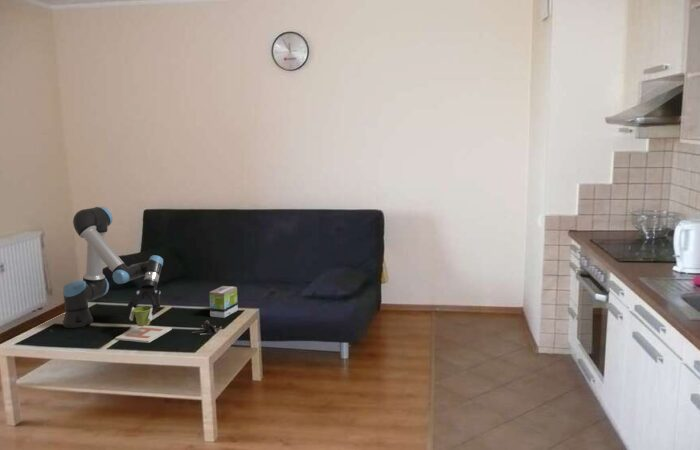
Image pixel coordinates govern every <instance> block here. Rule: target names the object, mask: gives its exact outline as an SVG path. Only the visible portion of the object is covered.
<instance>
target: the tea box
mask: <svg viewBox="0 0 700 450" xmlns="http://www.w3.org/2000/svg"><path fill="white" fill-rule="evenodd" d="M238 306H239V304H238V287H237V286H230V285H229V286H228V285H226V286H225V285H221V286H220V287H217V288H216V289H213V290H211V291H209V309H210V310H209V315H210V317H212V318H223V319H225V318H226V317H228V316H230V315H231V314H234V313H236V312H237V311H239V310H238V309H239V307H238Z"/></svg>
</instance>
